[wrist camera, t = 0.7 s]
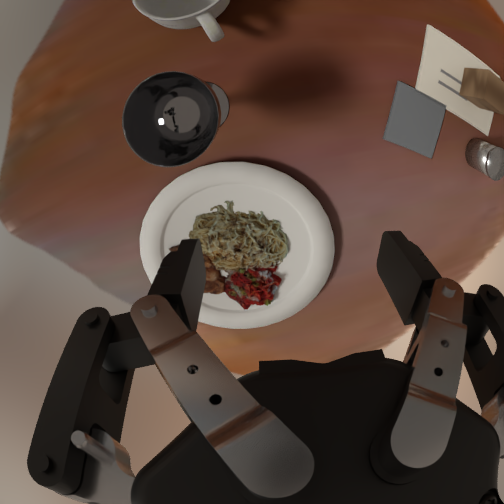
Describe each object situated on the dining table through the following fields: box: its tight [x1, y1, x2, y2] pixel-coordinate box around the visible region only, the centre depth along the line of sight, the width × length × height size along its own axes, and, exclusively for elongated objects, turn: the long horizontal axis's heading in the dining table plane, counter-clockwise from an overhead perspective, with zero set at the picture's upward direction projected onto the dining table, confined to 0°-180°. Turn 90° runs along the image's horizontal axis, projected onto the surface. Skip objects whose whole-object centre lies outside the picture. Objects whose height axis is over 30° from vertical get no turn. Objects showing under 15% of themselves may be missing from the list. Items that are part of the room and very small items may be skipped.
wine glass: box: [122, 71, 229, 167], centre depth 26 cm, size 8×8×15 cm
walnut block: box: [459, 68, 504, 115], centre depth 24 cm, size 5×5×6 cm
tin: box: [465, 138, 504, 181], centre depth 30 cm, size 5×5×6 cm
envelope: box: [415, 25, 500, 136], centre depth 27 cm, size 12×17×1 cm
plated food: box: [140, 162, 335, 329], centre depth 43 cm, size 30×30×3 cm
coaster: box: [383, 81, 446, 158], centre depth 31 cm, size 9×9×1 cm
